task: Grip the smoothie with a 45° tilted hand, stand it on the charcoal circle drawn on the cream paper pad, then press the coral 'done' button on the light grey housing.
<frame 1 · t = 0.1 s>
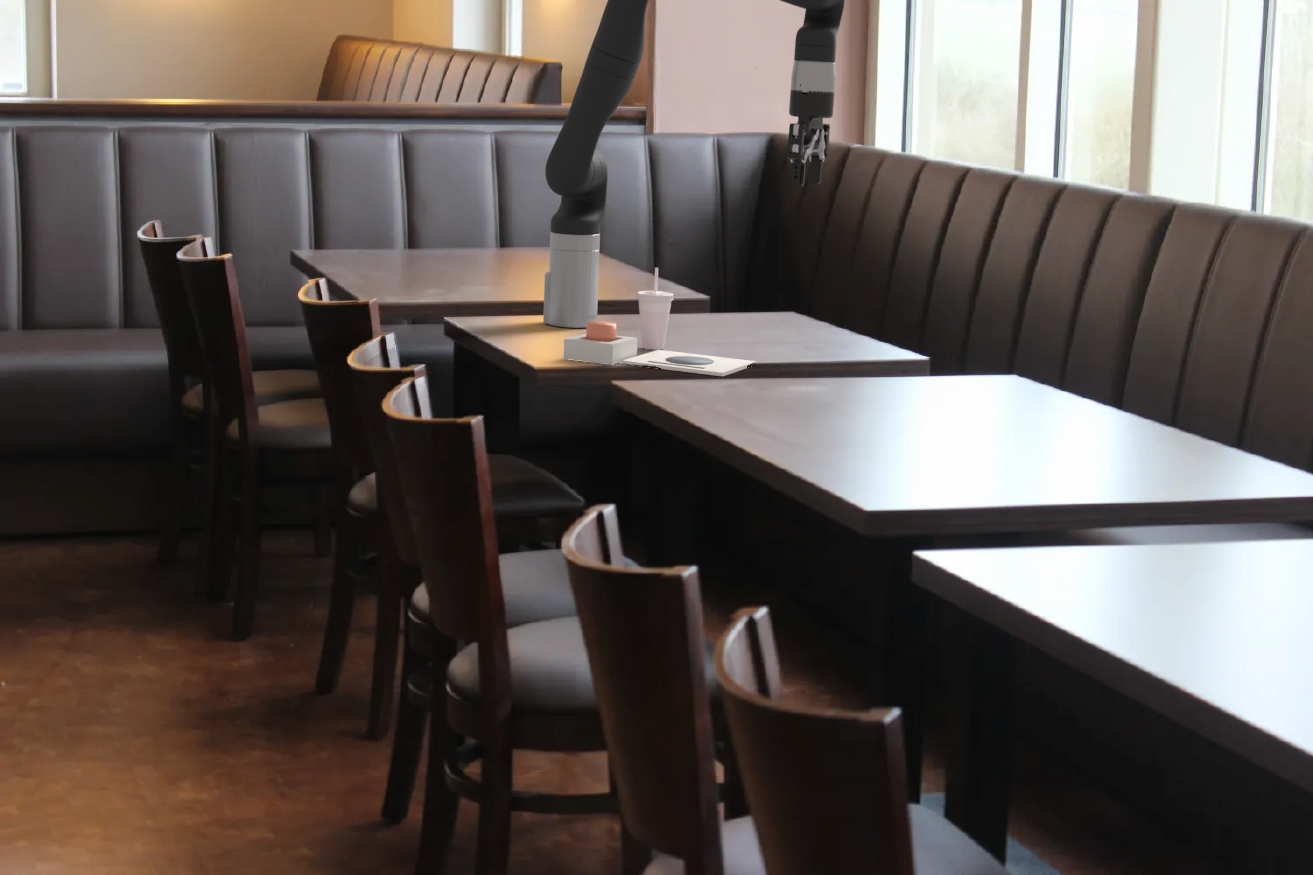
hand: (805, 184, 295), 29 cm above the table, tool pointing down, fingers open, 8 cm apart
smoothie: (652, 349, 296), on the table
done button: (601, 333, 282), point 4 cm above the table, slide at 0.0 cm
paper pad: (689, 364, 282), on the table
button housing: (600, 359, 283), on the table
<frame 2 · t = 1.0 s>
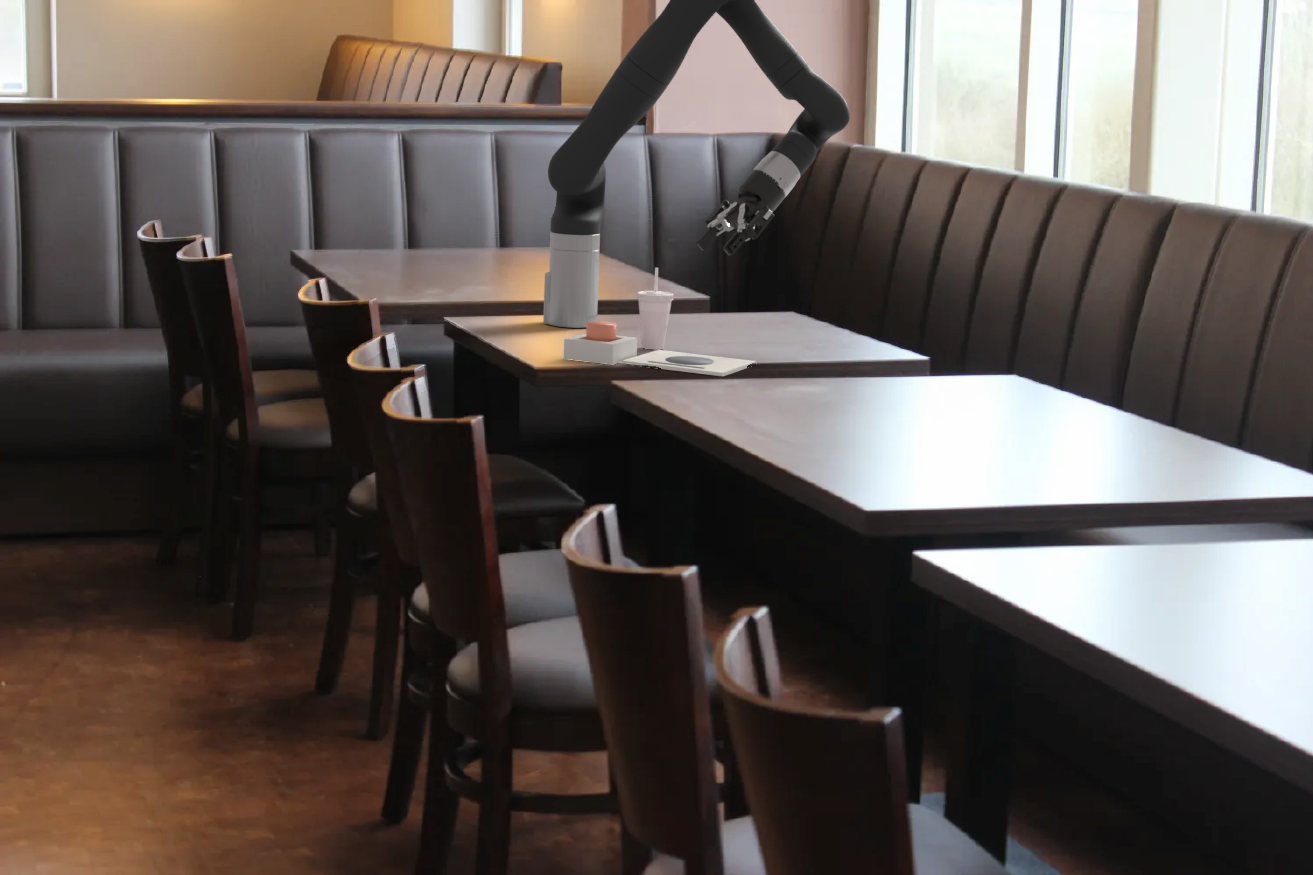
hand: (713, 249, 299), 17 cm above the table, tool tilted 45°, fingers open, 8 cm apart
nothing on the table moved.
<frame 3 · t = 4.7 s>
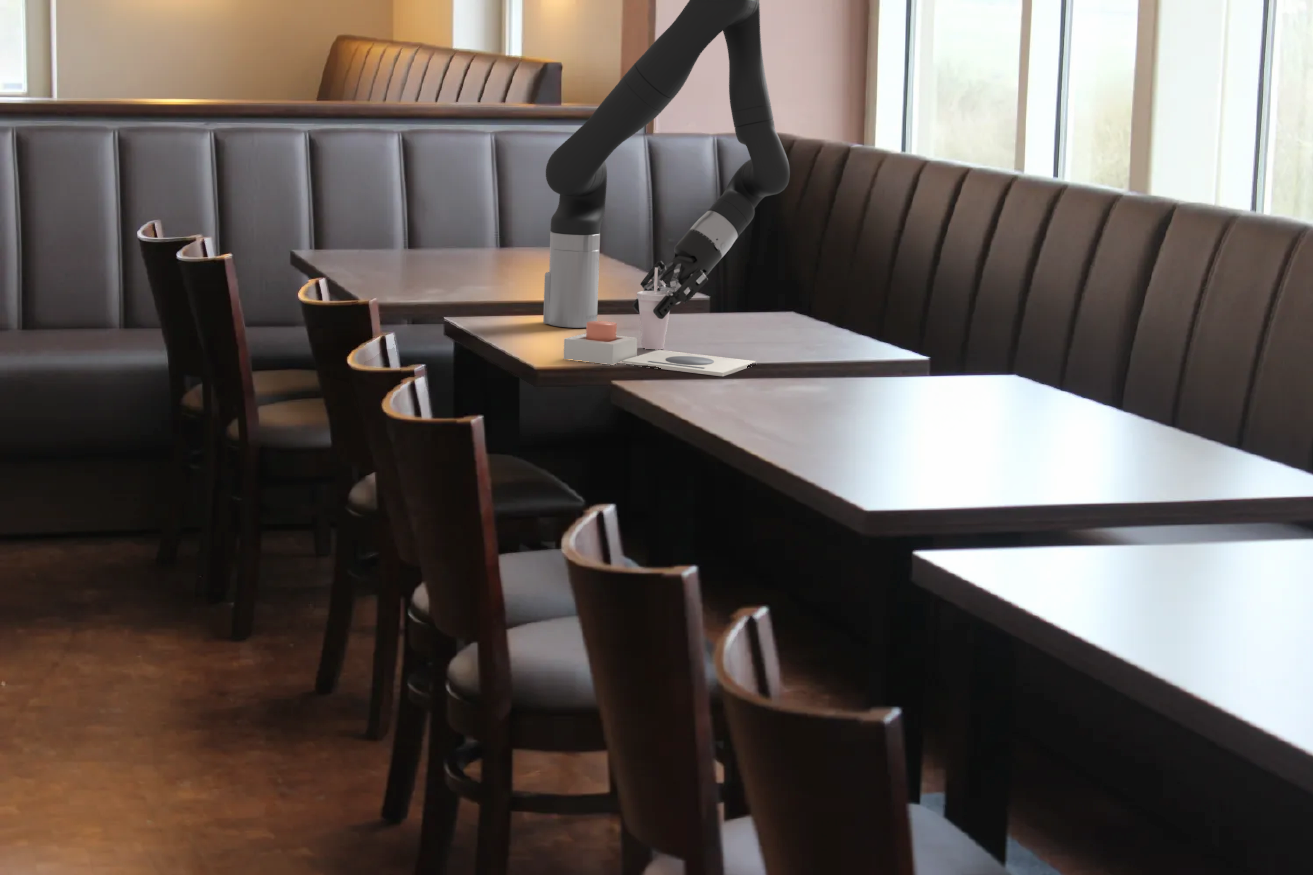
hand: (646, 312, 294), 6 cm above the table, tool tilted 45°, fingers closed on smoothie, 6 cm apart
smoothie: (652, 349, 296), on the table, touching gripper
everything else where it was.
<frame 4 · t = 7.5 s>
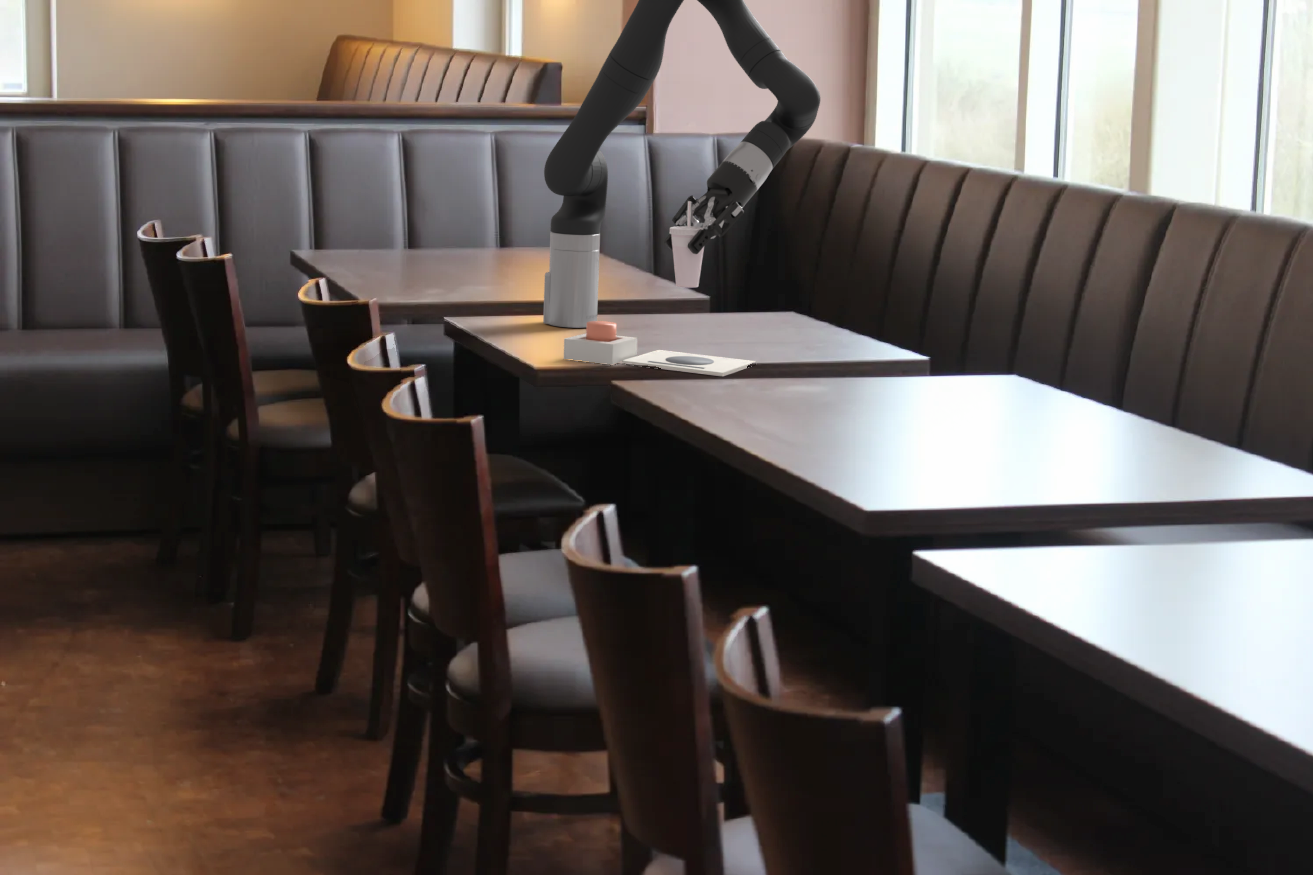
hand: (679, 248, 282), 19 cm above the table, tool tilted 45°, fingers closed on smoothie, 6 cm apart
smoothie: (687, 287, 284), point 12 cm above the table, touching gripper
everything else where it was.
when the fingers open (8 cm above the table, at t = 10.3 s): smoothie drops 1 cm, resting on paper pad.
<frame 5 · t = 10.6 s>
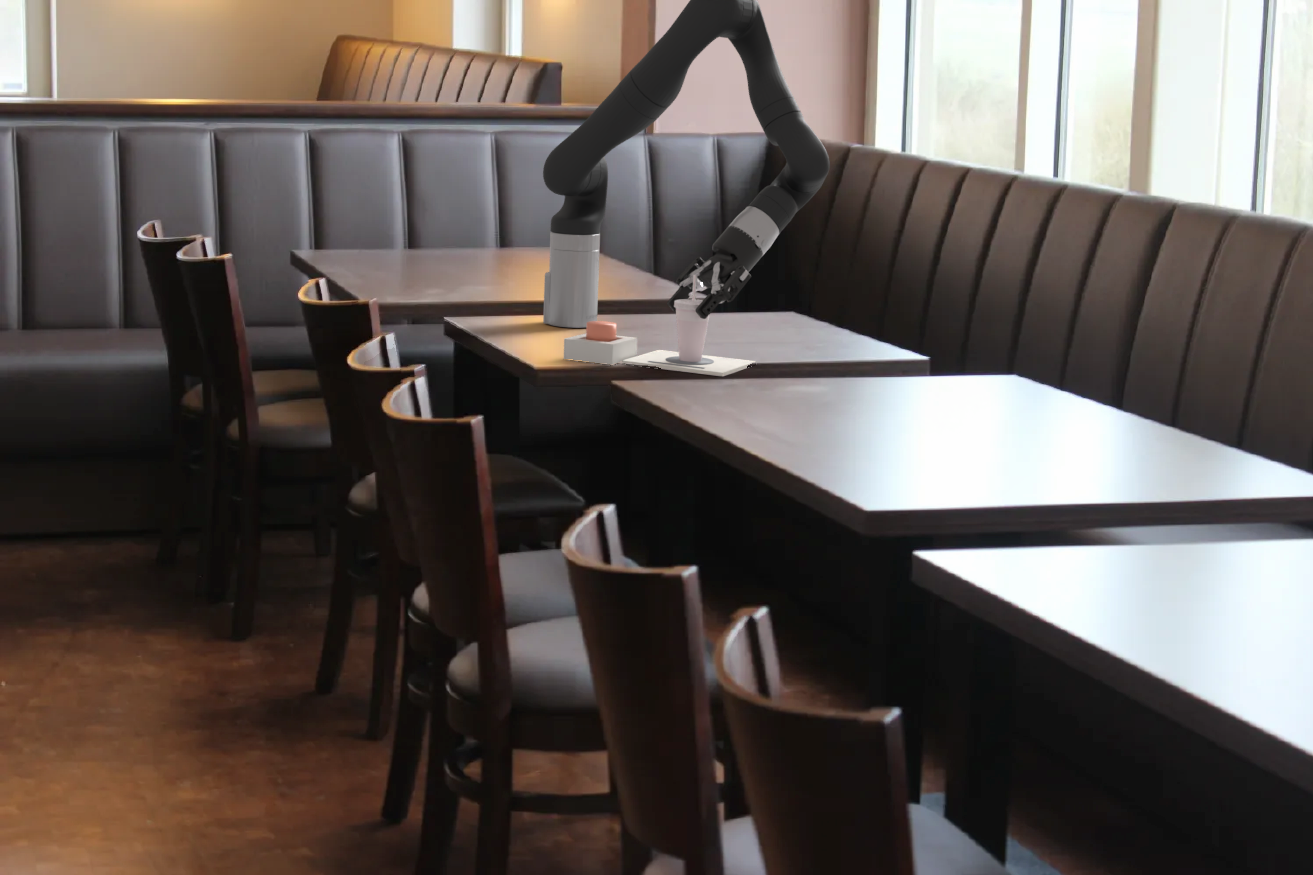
hand: (685, 311, 279), 9 cm above the table, tool tilted 45°, fingers open, 8 cm apart
smoothie: (690, 361, 282), point 1 cm above the table, touching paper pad
everything else where it was.
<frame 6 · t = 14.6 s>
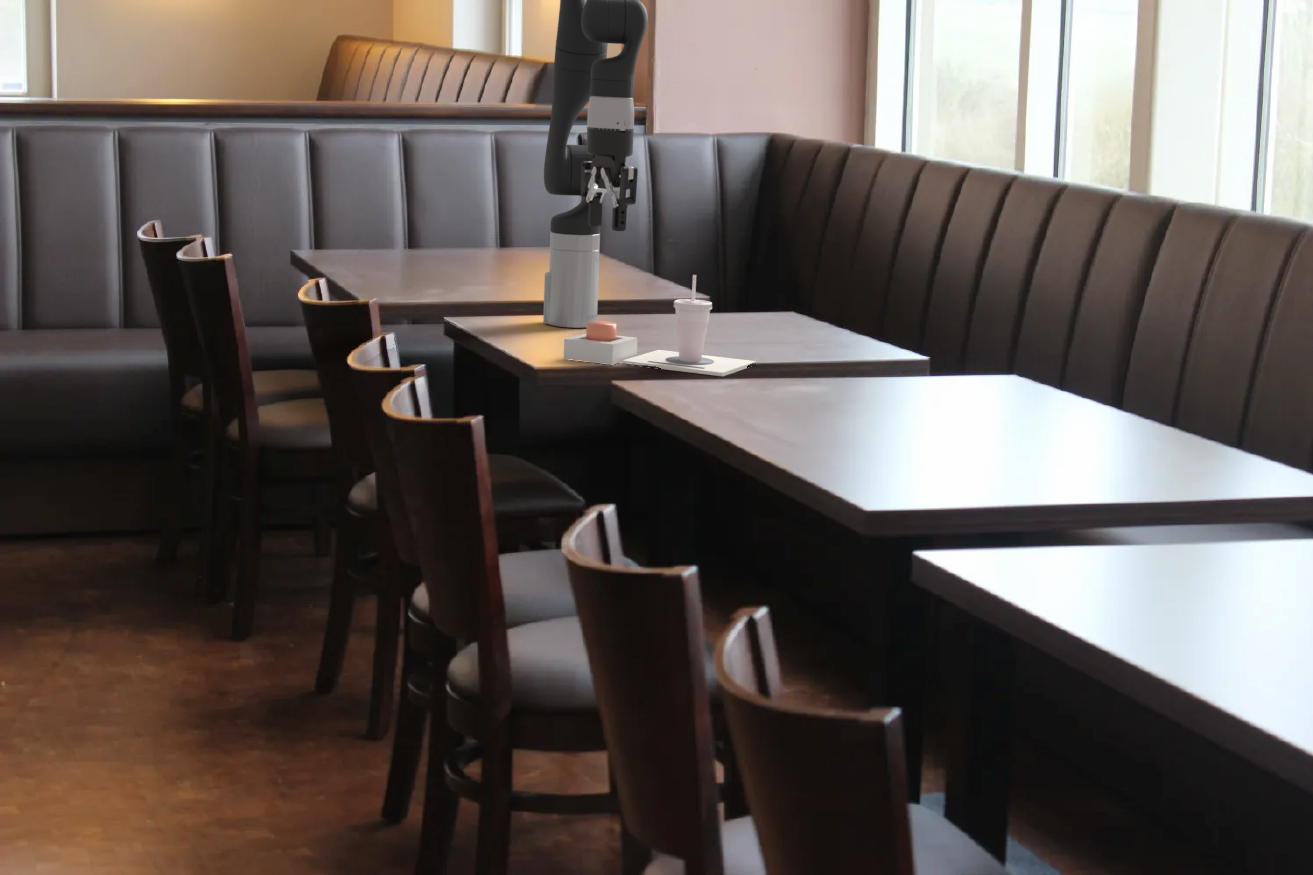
hand: (606, 228, 279), 22 cm above the table, tool pointing down, fingers open, 7 cm apart
nothing on the table moved.
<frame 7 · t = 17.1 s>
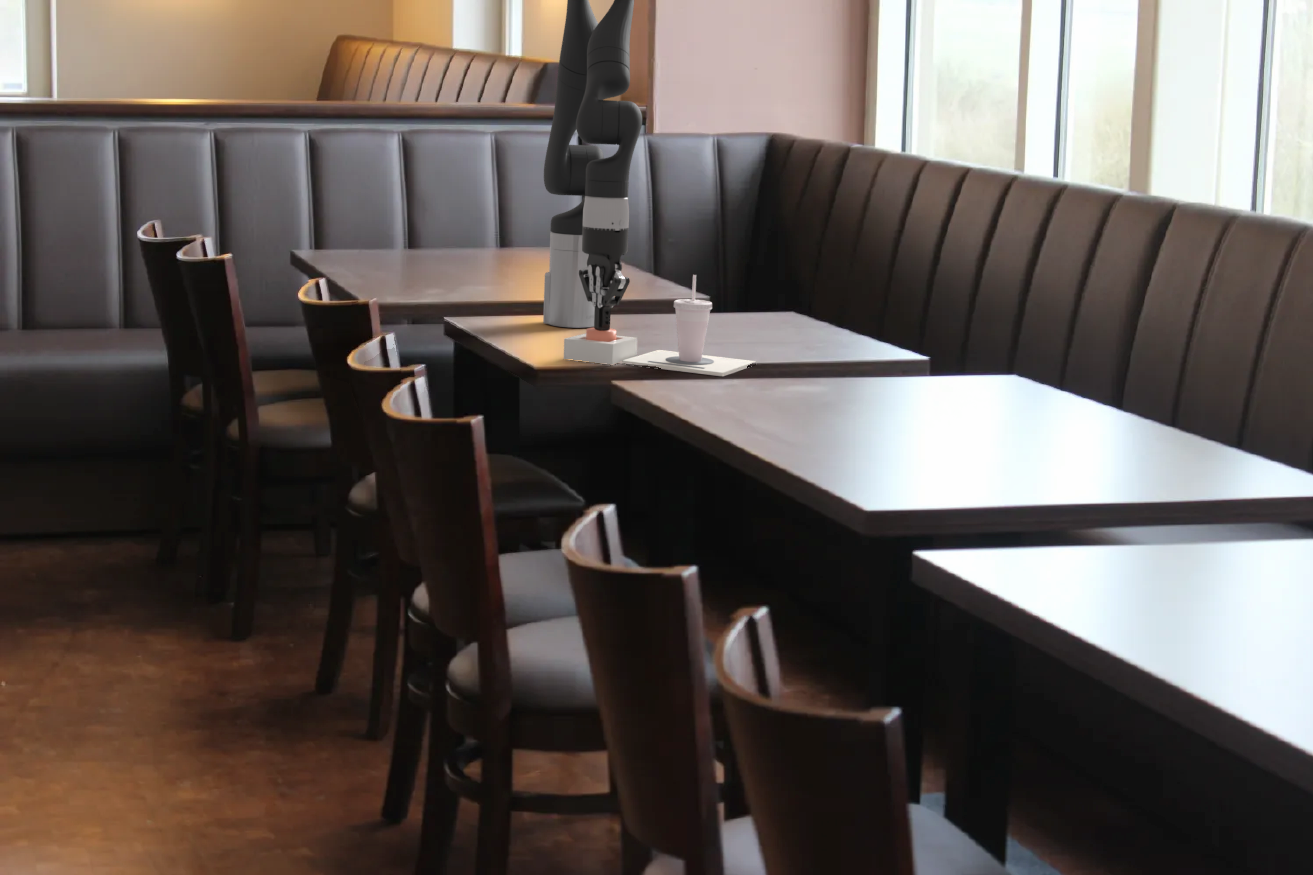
hand: (602, 329, 282), 5 cm above the table, tool pointing down, fingers closed
done button: (601, 340, 282), point 3 cm above the table, slide at 1.1 cm, touching gripper
everything else where it was.
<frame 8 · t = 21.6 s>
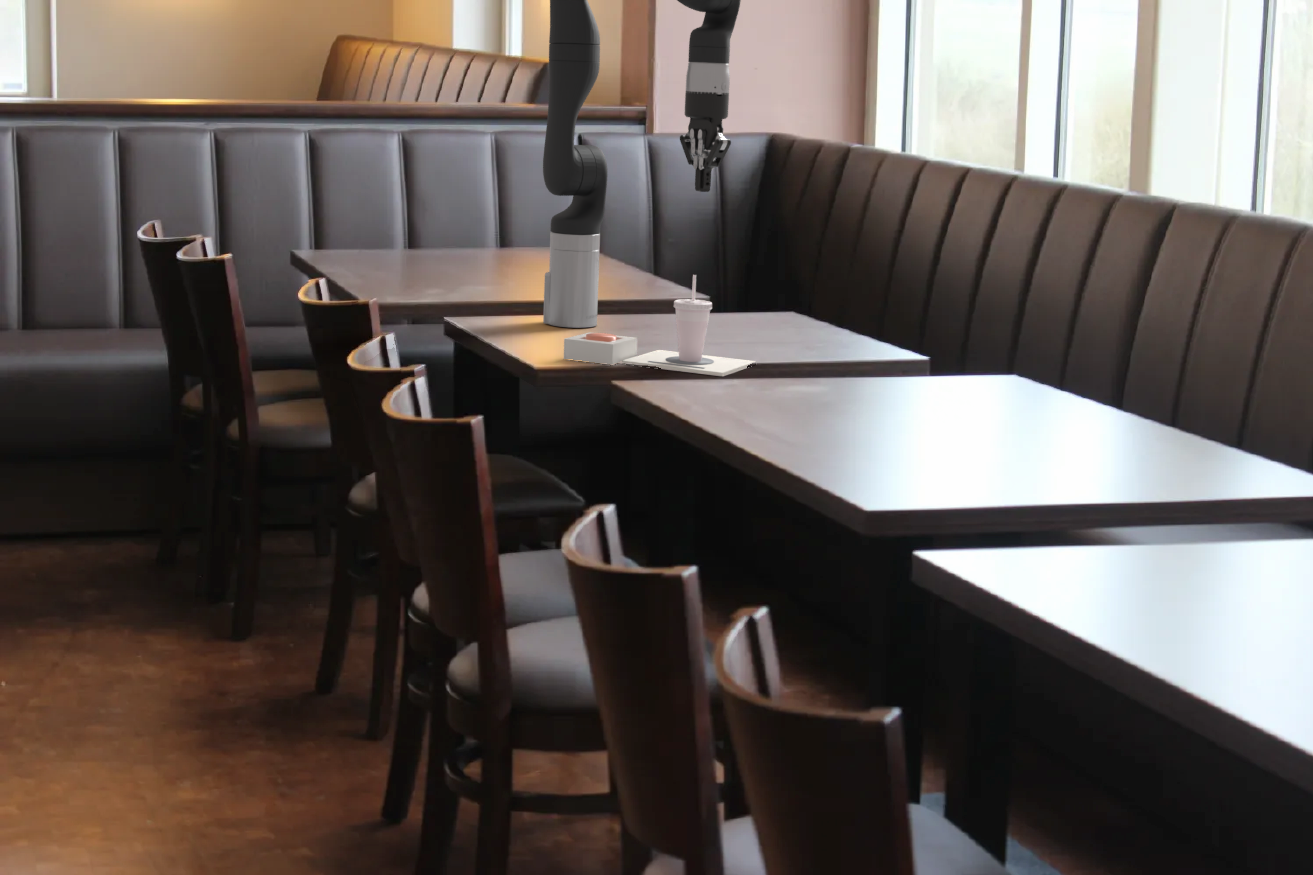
hand: (702, 191, 297), 27 cm above the table, tool pointing down, fingers closed
done button: (600, 345, 283), point 2 cm above the table, slide at 2.0 cm
everything else where it was.
at the end: smoothie inside the target area on the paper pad (0.3 cm from its centre), point 0.5 cm above the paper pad's base; smoothie tilted 0°; done button slide at 2.0 cm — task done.
